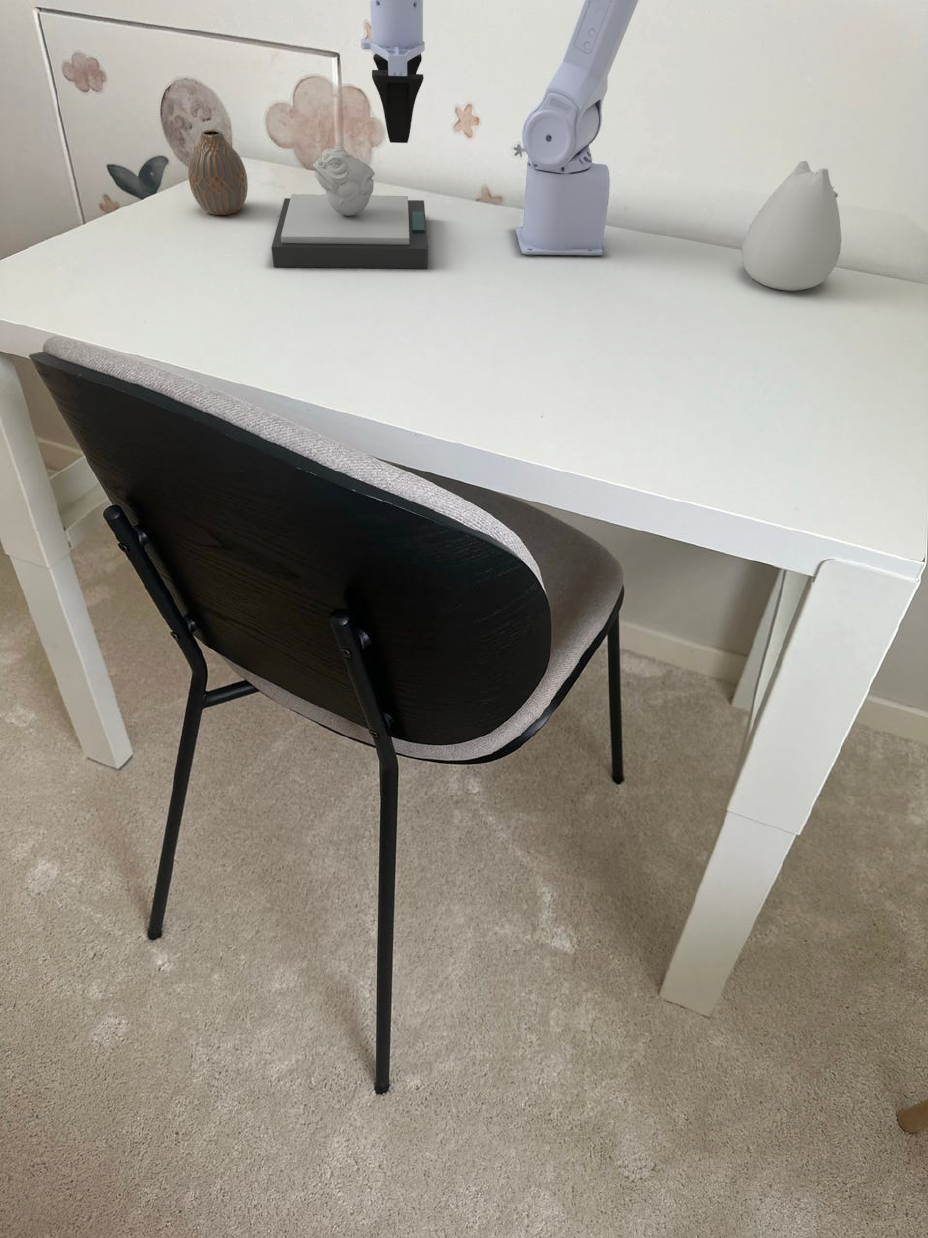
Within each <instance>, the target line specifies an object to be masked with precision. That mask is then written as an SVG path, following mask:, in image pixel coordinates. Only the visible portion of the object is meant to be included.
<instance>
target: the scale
mask: <svg viewBox="0 0 928 1238" xmlns="http://www.w3.org/2000/svg"><path fill="white" fill-rule="evenodd" d="M271 255H272V263H273V264H272V265H273V267H274V268H335V269H336V268H337V269H338V268H339V269H340V268H341V269H343V268H347V269H426V270H427V269H428V268H429V267H428V266H429V262H428V261H429V248H428V235H427V222H426V208H425V200H423V199H422V200H421V199H409V196H408V195H377V194H376V195H373V194H371V196H370V199H369V202H368V204H367V206H366V207H365V209H364V210H363V211H362V212H360V213H359V214H356V215H353V216H346V215H342V214H340V213H338V212H336V211H335V210H334V209H333V208H332V207H331V205H330V204H329V202H328V199H327V196H326V194H317V193H316V194H314V193H313V194H312V193H311V194H310V193H309V194H308V193H307V194H306V193H305V194H303V193H291V194H290V197H284V199H283V203H282V207H281V210H280V214H279V218H278V222H277V225H276V229H275V232H274V237H273V240H272V244H271Z"/></svg>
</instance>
